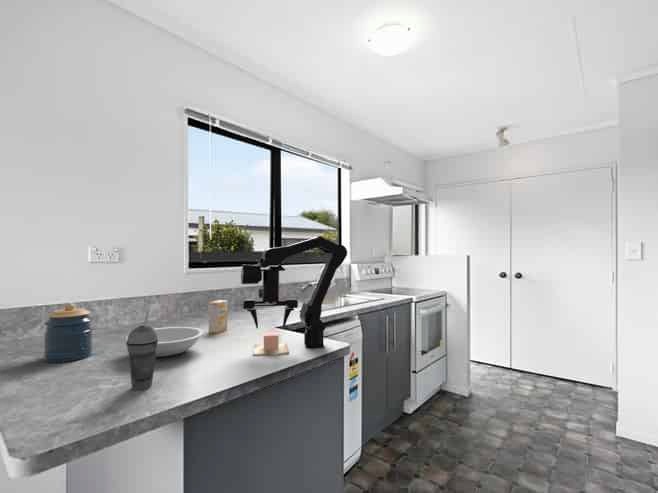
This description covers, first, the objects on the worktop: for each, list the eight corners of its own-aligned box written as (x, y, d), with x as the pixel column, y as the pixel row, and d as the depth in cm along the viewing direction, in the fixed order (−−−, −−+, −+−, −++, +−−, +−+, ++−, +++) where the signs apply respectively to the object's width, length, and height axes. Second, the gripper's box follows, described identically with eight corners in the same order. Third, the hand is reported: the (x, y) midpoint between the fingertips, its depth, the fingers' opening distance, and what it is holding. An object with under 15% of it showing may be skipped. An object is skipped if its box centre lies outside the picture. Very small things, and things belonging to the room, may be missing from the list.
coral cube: (277, 346, 128) (277, 332, 128) (278, 349, 123) (278, 335, 123) (263, 346, 127) (263, 332, 127) (263, 350, 122) (263, 336, 122)
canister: (101, 353, 119) (102, 301, 119) (61, 365, 107) (62, 306, 107) (74, 350, 123) (75, 299, 124) (33, 360, 111) (33, 304, 111)
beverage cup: (133, 382, 94) (134, 306, 94) (162, 381, 94) (163, 306, 94) (119, 393, 86) (120, 311, 87) (150, 392, 87) (151, 310, 87)
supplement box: (218, 333, 149) (218, 302, 149) (208, 333, 150) (208, 302, 150) (227, 329, 157) (228, 299, 157) (217, 328, 158) (218, 299, 158)
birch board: (286, 344, 132) (286, 343, 132) (288, 354, 120) (289, 352, 120) (253, 346, 129) (253, 344, 129) (252, 355, 118) (252, 353, 118)
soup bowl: (107, 360, 112) (107, 339, 112) (165, 342, 135) (166, 324, 135) (165, 369, 104) (166, 346, 104) (218, 348, 127) (218, 329, 127)
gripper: (295, 281, 135) (295, 322, 134) (245, 281, 131) (244, 324, 131) (298, 284, 124) (297, 329, 123) (243, 284, 120) (242, 330, 120)
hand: (270, 327), depth 125 cm, fingers open, 9 cm apart
